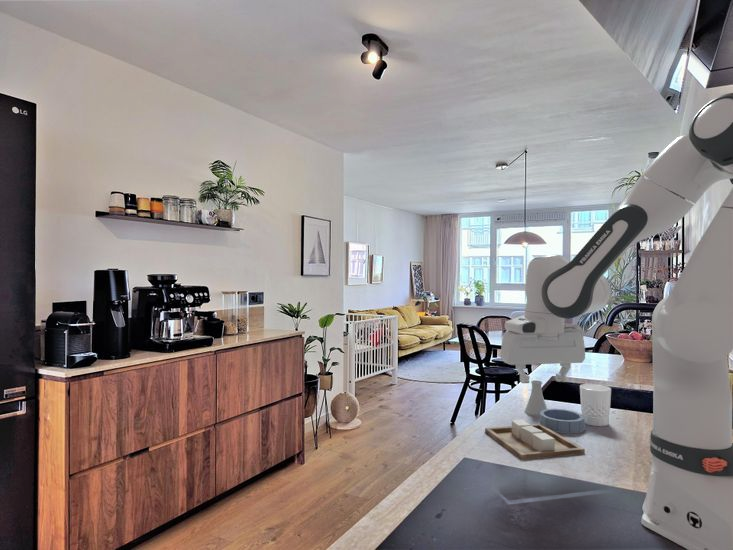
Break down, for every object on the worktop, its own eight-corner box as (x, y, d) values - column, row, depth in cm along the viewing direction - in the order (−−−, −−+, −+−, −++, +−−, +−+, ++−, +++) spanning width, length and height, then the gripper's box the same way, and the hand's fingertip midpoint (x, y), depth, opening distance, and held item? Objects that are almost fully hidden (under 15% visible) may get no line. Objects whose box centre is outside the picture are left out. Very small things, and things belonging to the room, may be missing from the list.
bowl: (593, 433, 121) (593, 419, 121) (555, 436, 119) (555, 422, 119) (566, 420, 132) (566, 407, 132) (532, 422, 130) (532, 410, 130)
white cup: (576, 417, 134) (576, 383, 134) (606, 419, 133) (606, 384, 133) (583, 426, 127) (583, 390, 127) (614, 428, 125) (615, 391, 125)
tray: (584, 455, 106) (584, 449, 106) (521, 462, 103) (521, 454, 103) (540, 429, 124) (540, 423, 124) (485, 434, 121) (485, 428, 121)
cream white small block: (542, 444, 112) (542, 430, 112) (531, 445, 111) (531, 432, 111) (531, 438, 116) (531, 425, 116) (521, 440, 115) (521, 427, 115)
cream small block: (530, 437, 117) (530, 424, 117) (518, 438, 116) (518, 425, 116) (523, 432, 121) (523, 419, 121) (511, 432, 120) (511, 420, 120)
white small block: (554, 452, 107) (554, 438, 107) (542, 453, 106) (542, 439, 106) (544, 445, 111) (544, 432, 111) (532, 447, 110) (532, 433, 110)
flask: (551, 419, 133) (551, 384, 133) (525, 417, 134) (525, 383, 134) (547, 411, 140) (547, 379, 140) (522, 410, 141) (522, 378, 141)
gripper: (574, 321, 114) (573, 377, 114) (498, 322, 110) (497, 380, 110) (592, 325, 107) (590, 384, 108) (511, 326, 103) (510, 387, 104)
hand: (542, 382), depth 109 cm, fingers open, 8 cm apart
